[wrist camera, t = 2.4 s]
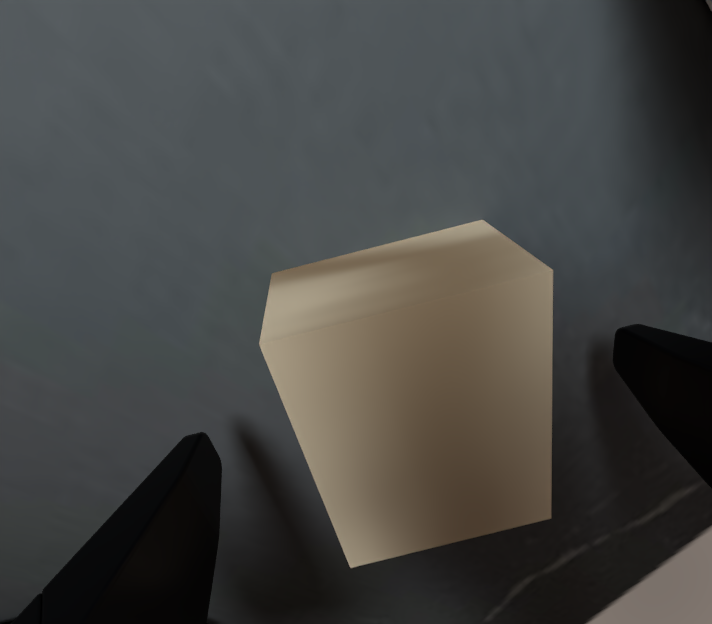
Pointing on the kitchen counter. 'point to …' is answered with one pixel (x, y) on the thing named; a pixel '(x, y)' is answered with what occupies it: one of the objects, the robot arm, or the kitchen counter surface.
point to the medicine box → (709, 4)
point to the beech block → (419, 387)
